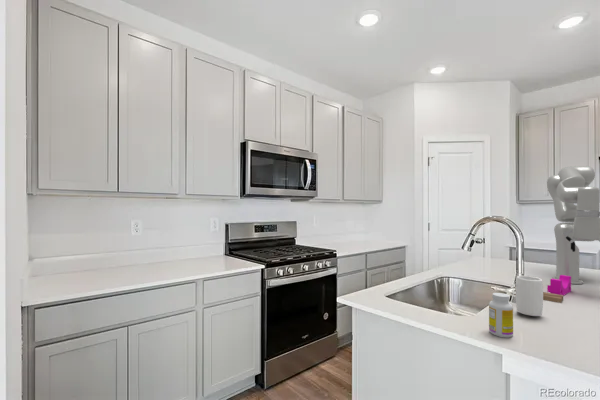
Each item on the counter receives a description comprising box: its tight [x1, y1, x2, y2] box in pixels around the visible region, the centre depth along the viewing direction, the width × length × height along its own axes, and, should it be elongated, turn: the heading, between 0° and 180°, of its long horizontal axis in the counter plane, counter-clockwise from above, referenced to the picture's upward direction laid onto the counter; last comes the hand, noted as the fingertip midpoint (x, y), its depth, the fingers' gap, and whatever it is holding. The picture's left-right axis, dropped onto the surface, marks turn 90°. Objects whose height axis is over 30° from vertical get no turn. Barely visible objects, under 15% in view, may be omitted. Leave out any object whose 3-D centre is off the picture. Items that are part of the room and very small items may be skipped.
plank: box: [543, 291, 564, 304], centre depth 144 cm, size 7×18×2 cm, turn 44°
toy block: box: [546, 275, 572, 296], centre depth 150 cm, size 15×6×8 cm, turn 125°
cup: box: [515, 275, 544, 317], centre depth 120 cm, size 8×8×14 cm
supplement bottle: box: [488, 292, 514, 339], centre depth 104 cm, size 7×7×13 cm
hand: (587, 252), depth 142 cm, fingers open, 9 cm apart
